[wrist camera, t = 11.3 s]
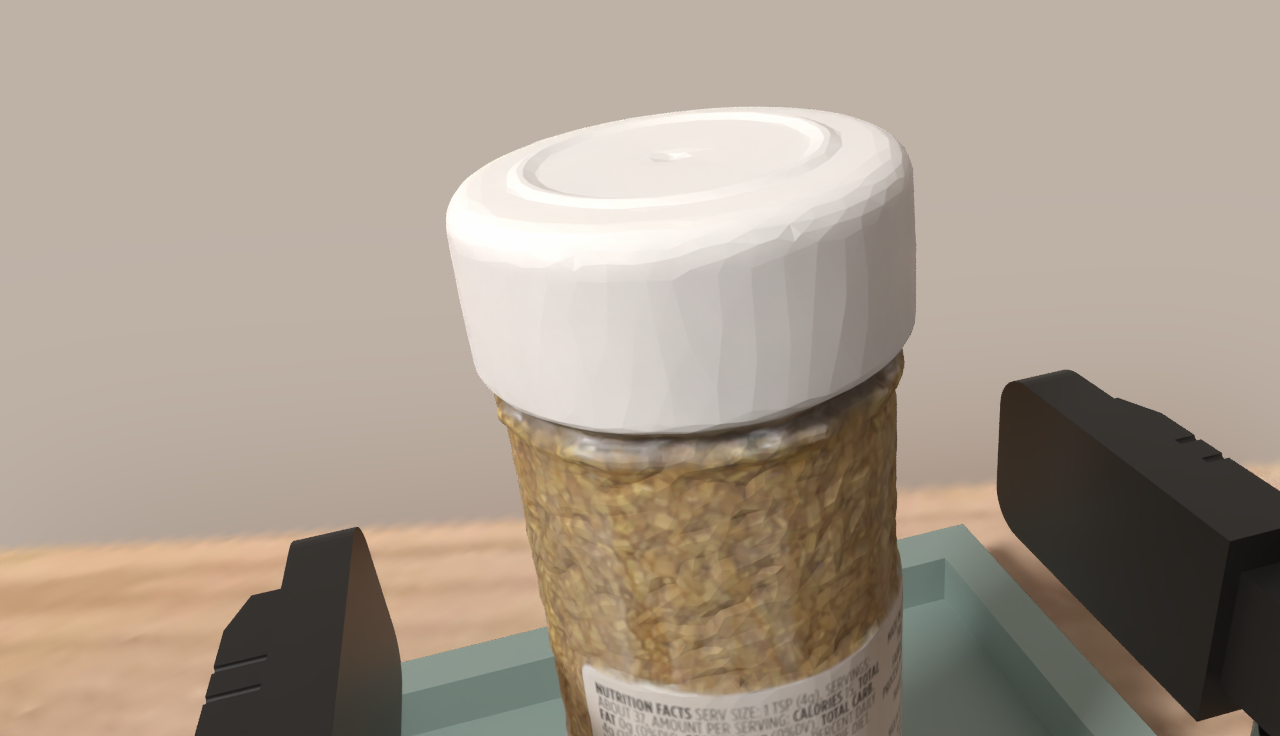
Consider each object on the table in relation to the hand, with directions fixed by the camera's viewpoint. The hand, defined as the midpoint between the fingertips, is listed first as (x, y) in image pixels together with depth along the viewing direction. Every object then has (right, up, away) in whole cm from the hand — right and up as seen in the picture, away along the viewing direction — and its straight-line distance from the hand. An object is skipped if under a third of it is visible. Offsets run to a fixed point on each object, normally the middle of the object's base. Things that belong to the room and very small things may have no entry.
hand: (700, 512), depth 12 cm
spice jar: (+1, -8, +4) cm, 9 cm away
